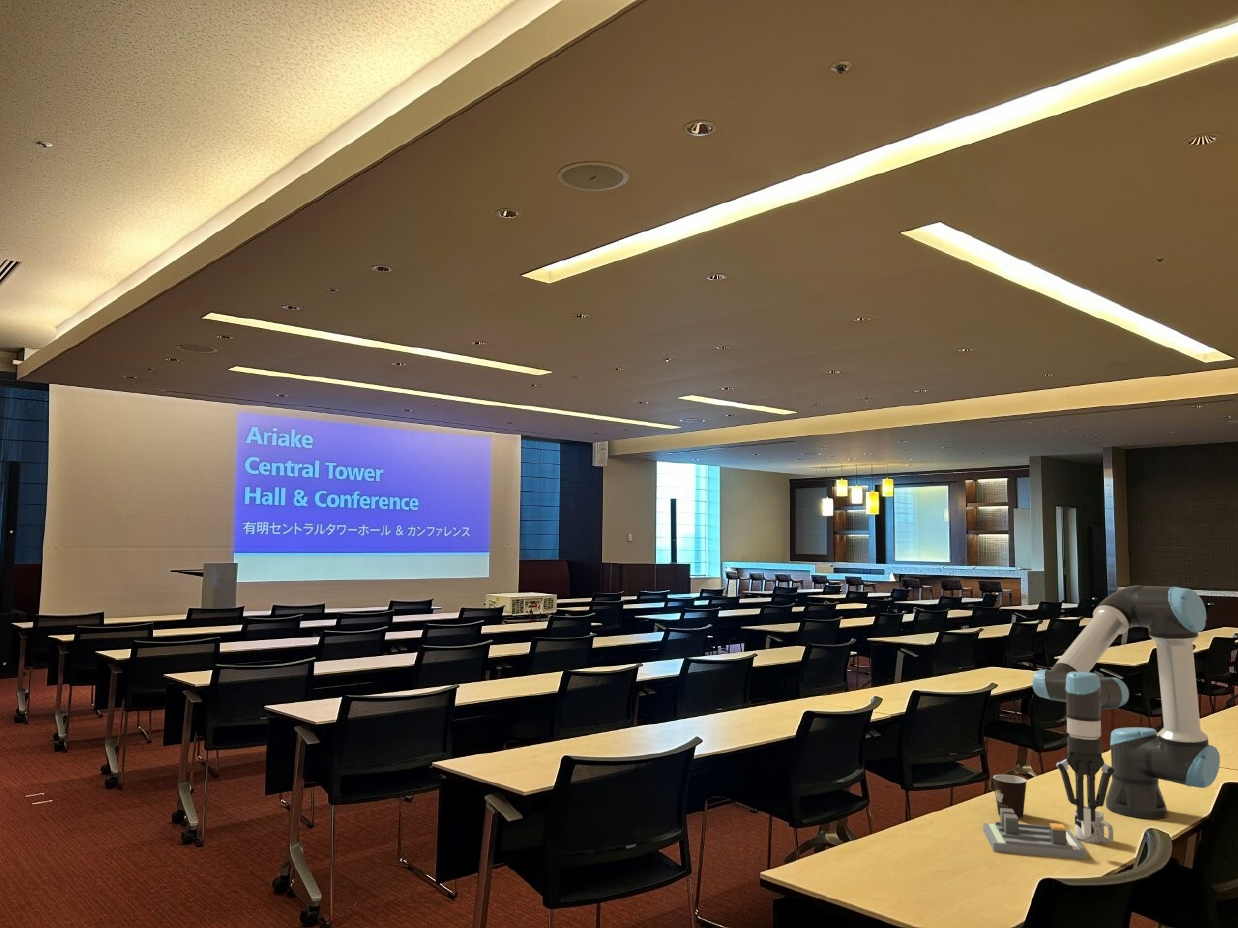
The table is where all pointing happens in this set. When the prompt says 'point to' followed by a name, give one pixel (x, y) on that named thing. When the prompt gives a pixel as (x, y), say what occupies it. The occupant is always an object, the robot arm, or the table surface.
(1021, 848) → the panel
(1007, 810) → the block
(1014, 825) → the block
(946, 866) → the table surface
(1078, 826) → the mug
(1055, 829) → the block
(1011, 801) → the coffee mug
